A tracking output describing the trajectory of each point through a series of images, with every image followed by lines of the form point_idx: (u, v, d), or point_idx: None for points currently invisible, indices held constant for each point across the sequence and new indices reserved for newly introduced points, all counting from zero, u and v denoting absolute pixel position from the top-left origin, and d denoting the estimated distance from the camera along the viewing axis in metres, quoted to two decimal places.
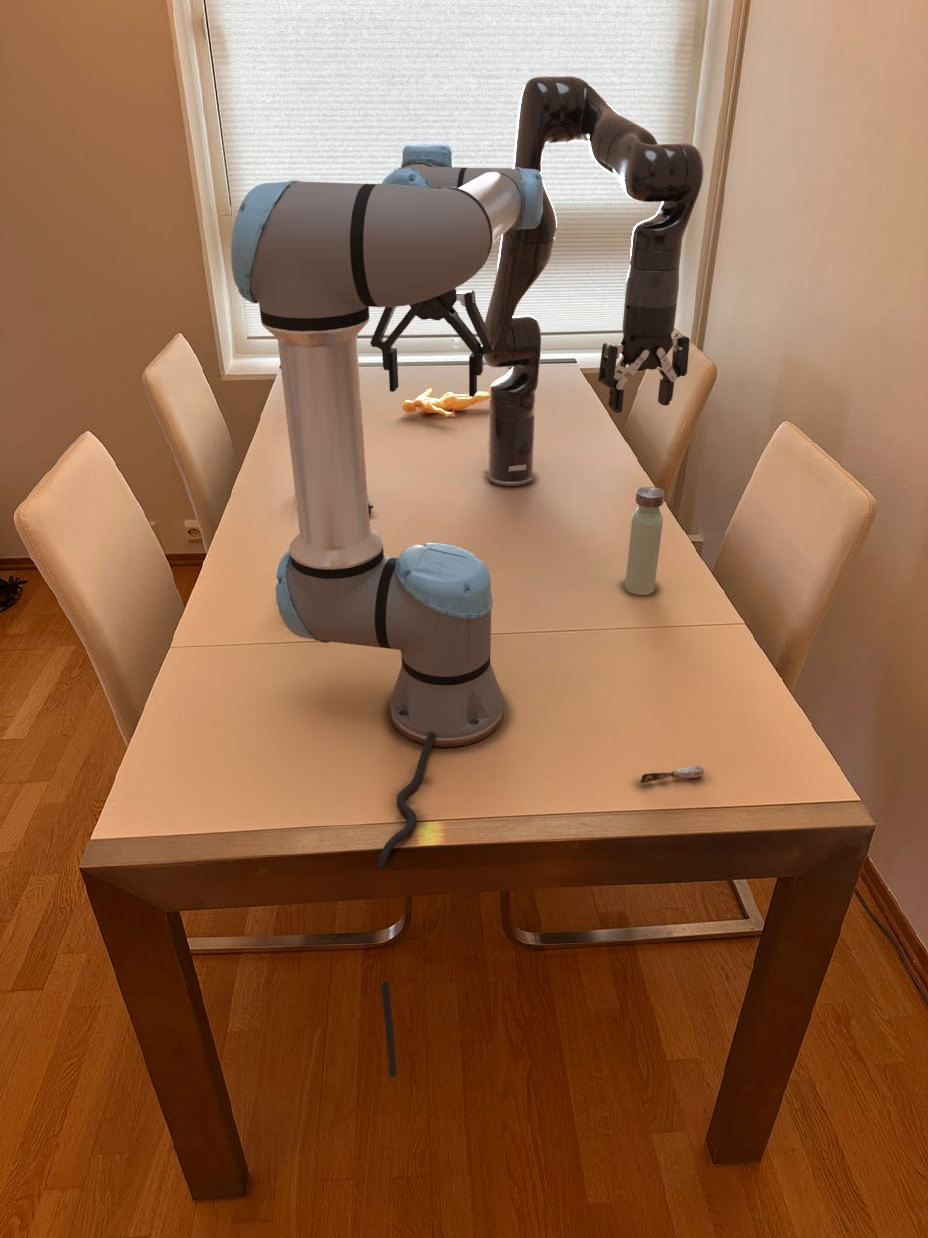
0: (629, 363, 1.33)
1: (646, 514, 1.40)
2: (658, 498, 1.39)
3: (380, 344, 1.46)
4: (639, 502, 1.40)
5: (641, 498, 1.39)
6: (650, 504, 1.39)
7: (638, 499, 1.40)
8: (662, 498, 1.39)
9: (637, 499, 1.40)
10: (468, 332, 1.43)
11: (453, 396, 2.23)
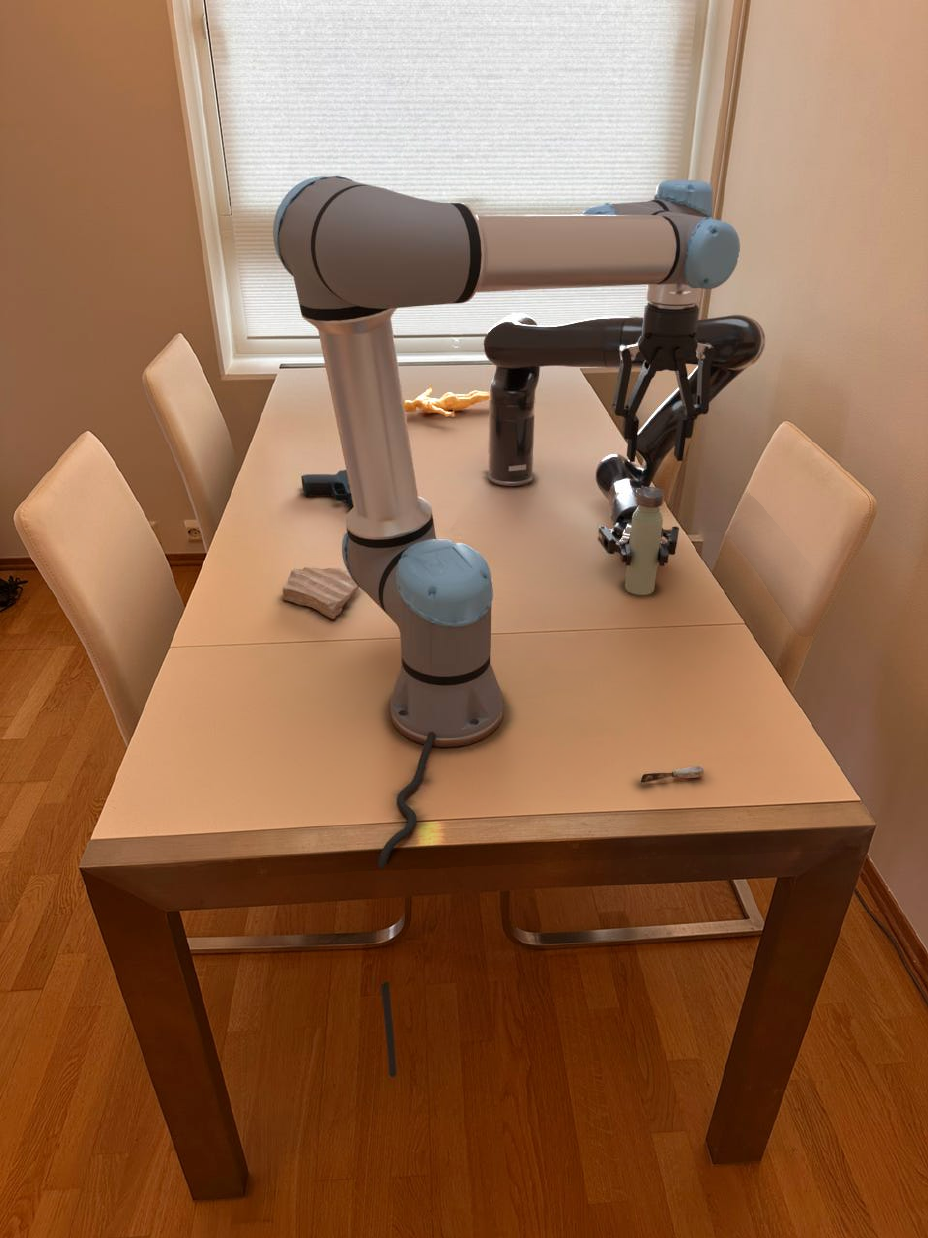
0: None
1: (646, 514, 1.40)
2: (658, 498, 1.39)
3: None
4: (639, 502, 1.40)
5: (641, 498, 1.39)
6: (650, 504, 1.39)
7: (638, 499, 1.40)
8: (662, 498, 1.39)
9: (637, 499, 1.40)
10: (634, 391, 1.32)
11: (453, 396, 2.23)
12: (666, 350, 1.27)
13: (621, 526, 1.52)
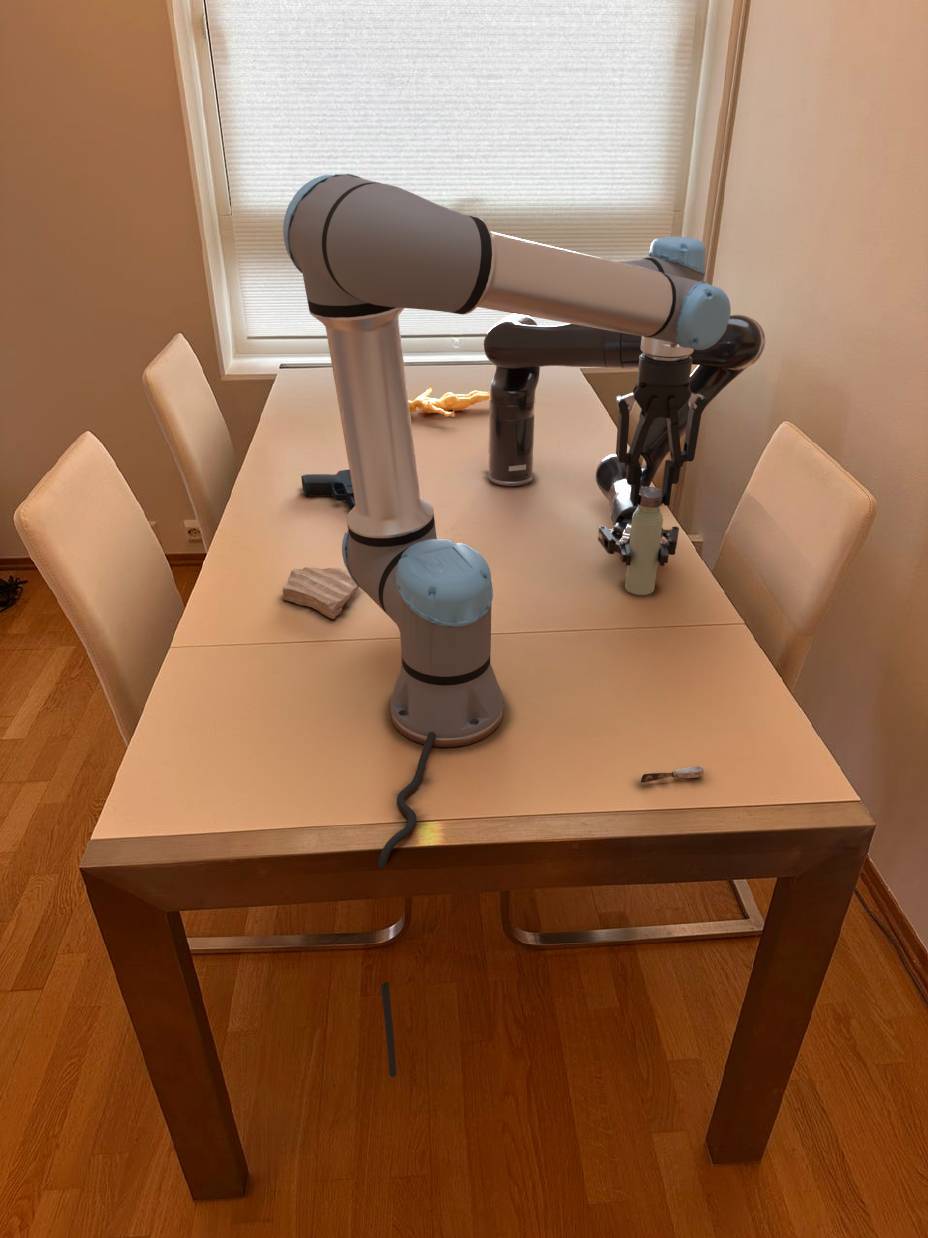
0: None
1: (646, 514, 1.40)
2: (658, 498, 1.39)
3: None
4: (639, 502, 1.40)
5: (641, 498, 1.39)
6: (650, 504, 1.39)
7: None
8: (662, 498, 1.39)
9: None
10: (634, 438, 1.36)
11: (453, 396, 2.23)
12: (661, 399, 1.31)
13: (621, 526, 1.52)
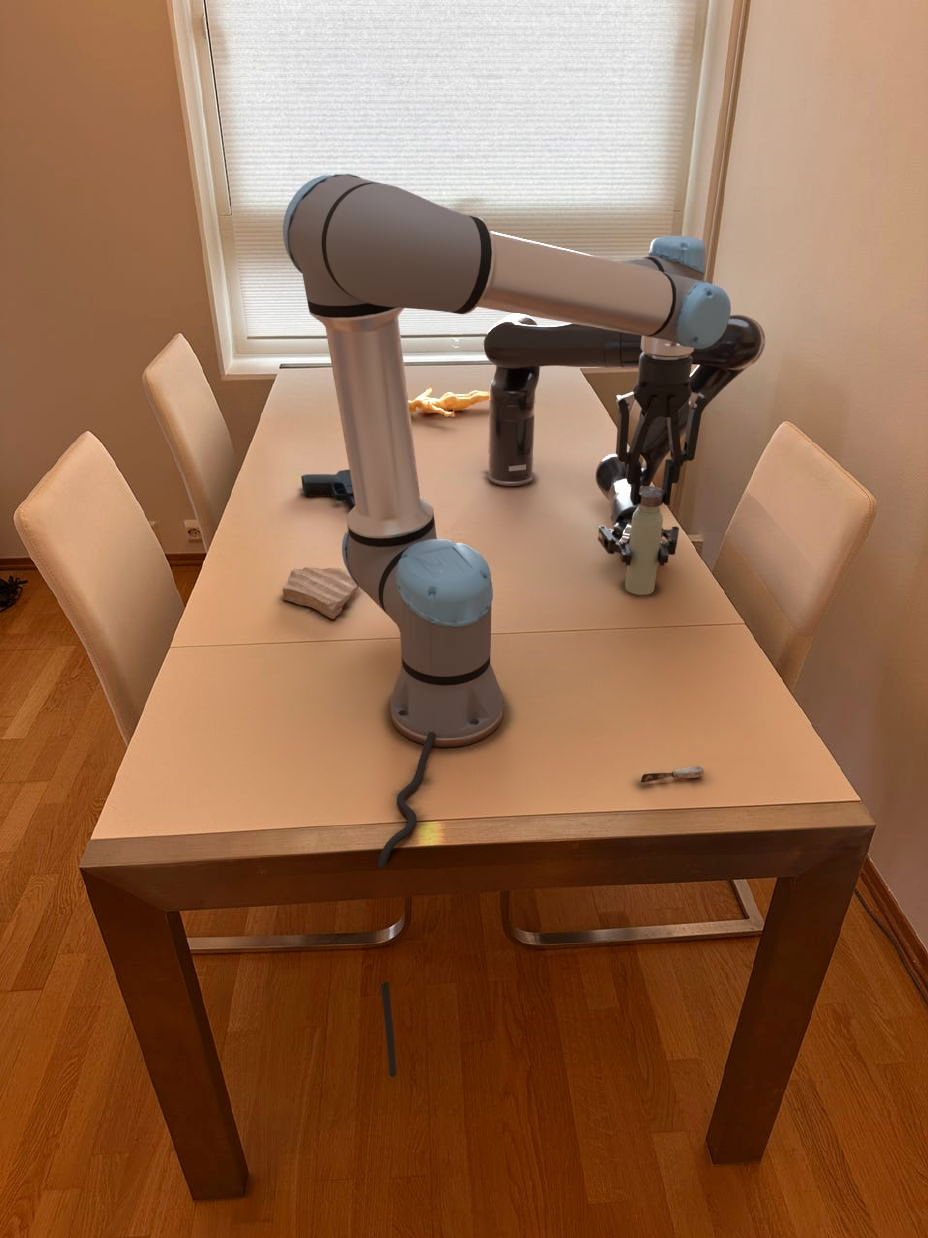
0: None
1: (646, 514, 1.40)
2: None
3: None
4: (660, 502, 1.39)
5: (662, 497, 1.39)
6: None
7: (659, 501, 1.39)
8: None
9: (658, 502, 1.39)
10: (634, 438, 1.36)
11: (453, 396, 2.23)
12: (661, 398, 1.31)
13: (621, 526, 1.52)
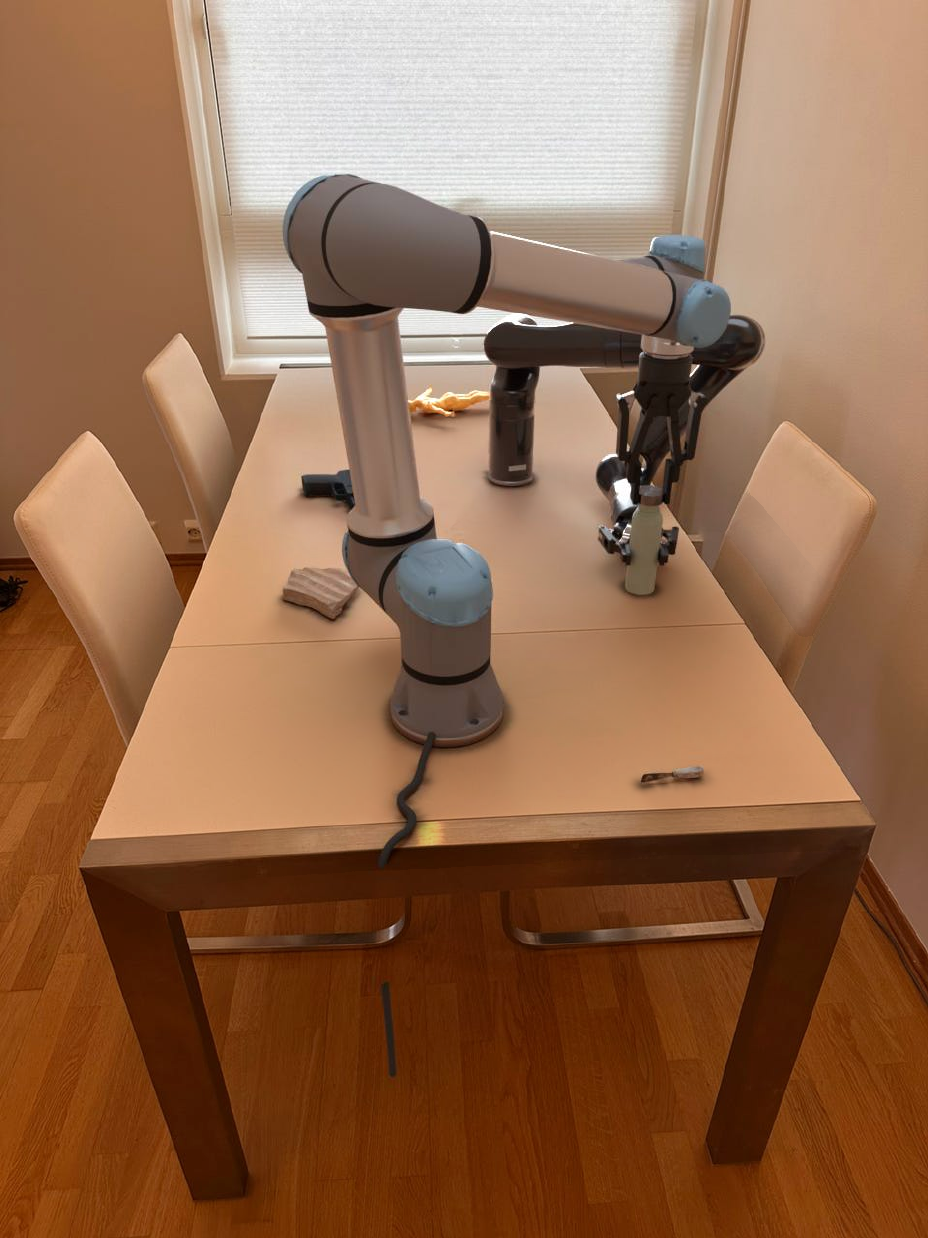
0: None
1: (646, 513, 1.40)
2: (640, 488, 1.41)
3: None
4: None
5: None
6: None
7: None
8: None
9: None
10: (634, 437, 1.35)
11: (453, 396, 2.23)
12: (661, 397, 1.31)
13: (621, 526, 1.52)
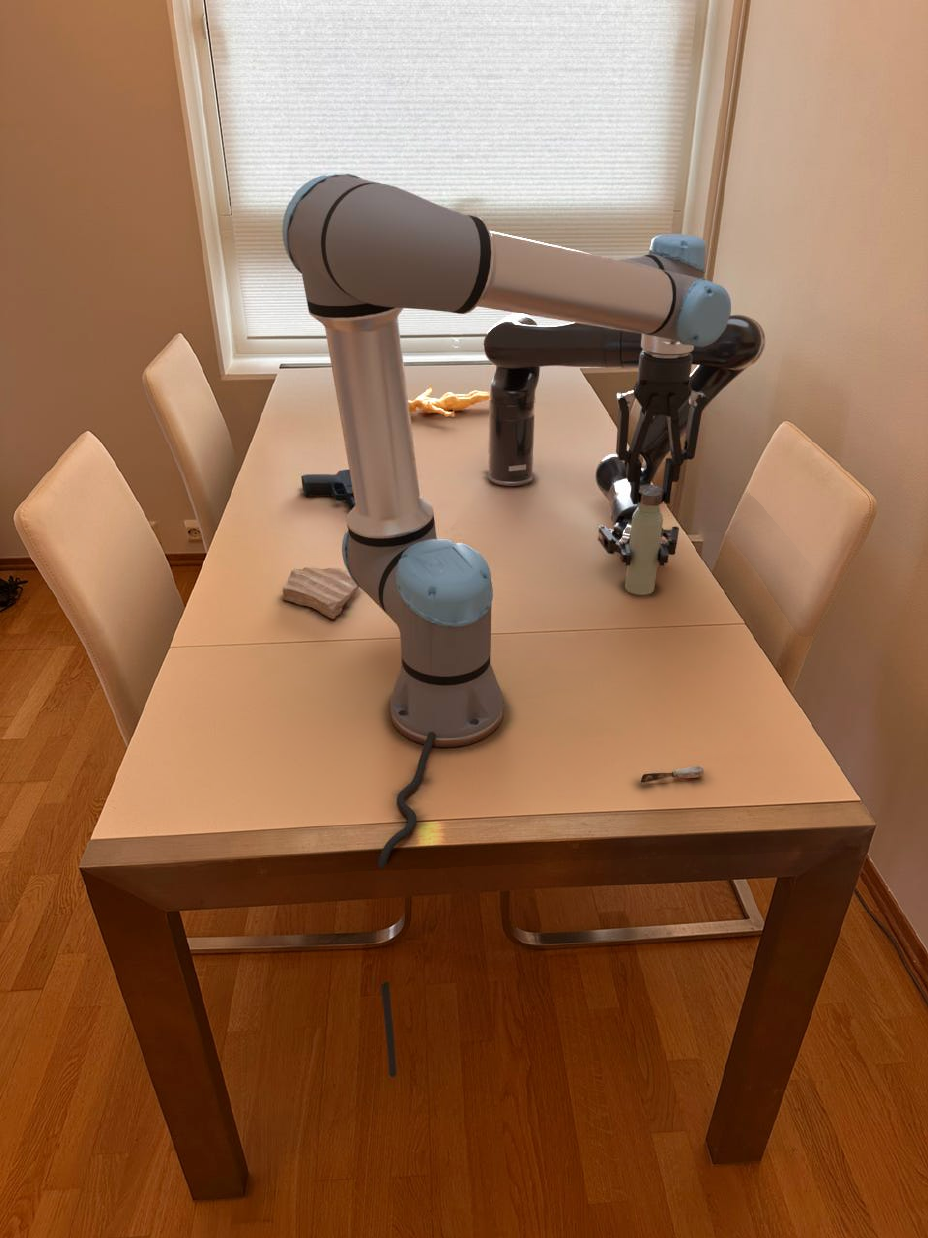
0: None
1: (646, 513, 1.40)
2: (644, 496, 1.39)
3: None
4: None
5: None
6: None
7: None
8: (650, 498, 1.38)
9: None
10: (634, 436, 1.35)
11: (453, 396, 2.23)
12: (661, 396, 1.31)
13: (621, 526, 1.52)
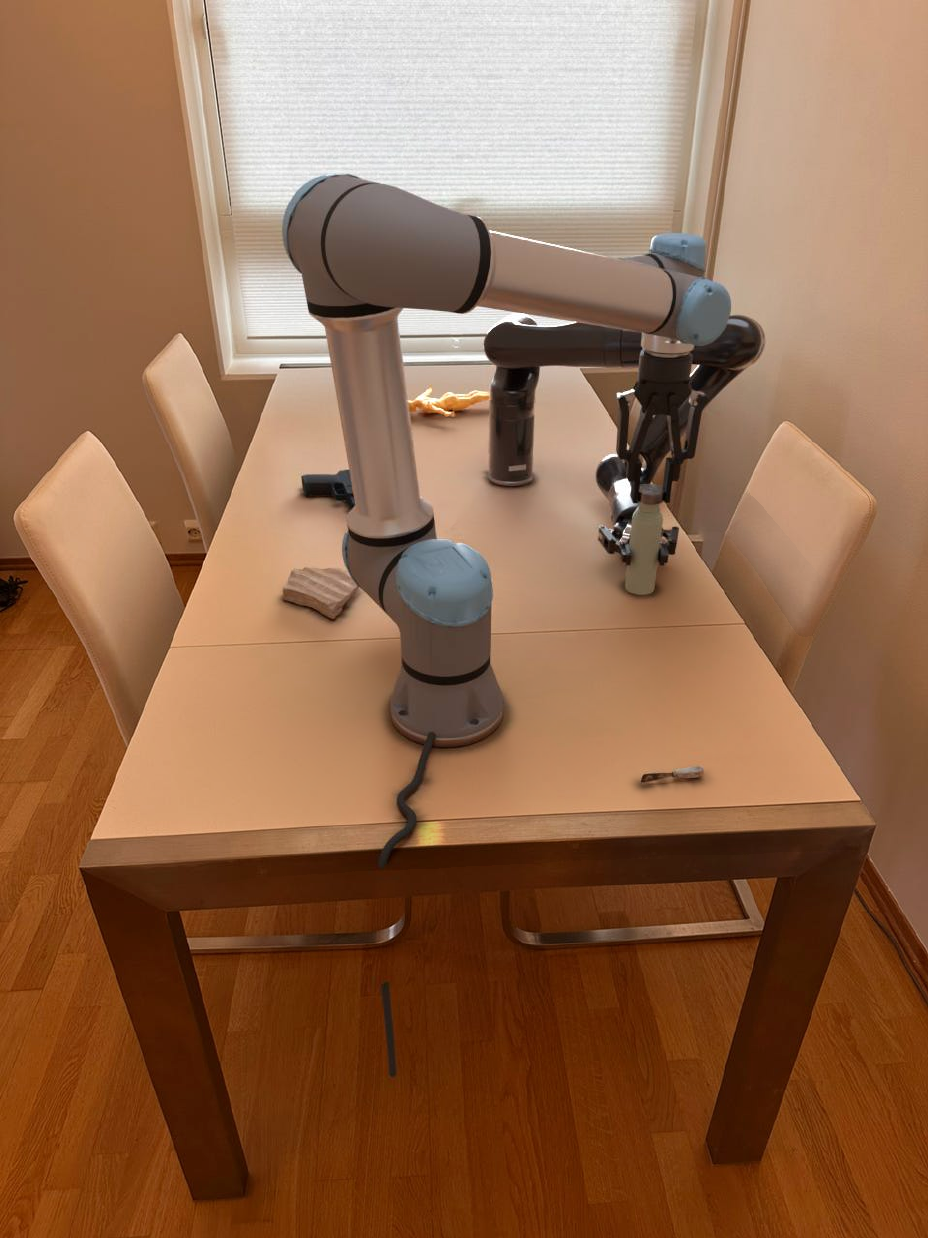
0: None
1: (646, 513, 1.40)
2: (663, 493, 1.39)
3: None
4: (647, 501, 1.39)
5: (649, 497, 1.38)
6: (658, 501, 1.39)
7: (645, 499, 1.39)
8: None
9: (643, 499, 1.39)
10: (635, 435, 1.35)
11: (453, 396, 2.23)
12: (661, 395, 1.31)
13: (621, 526, 1.52)
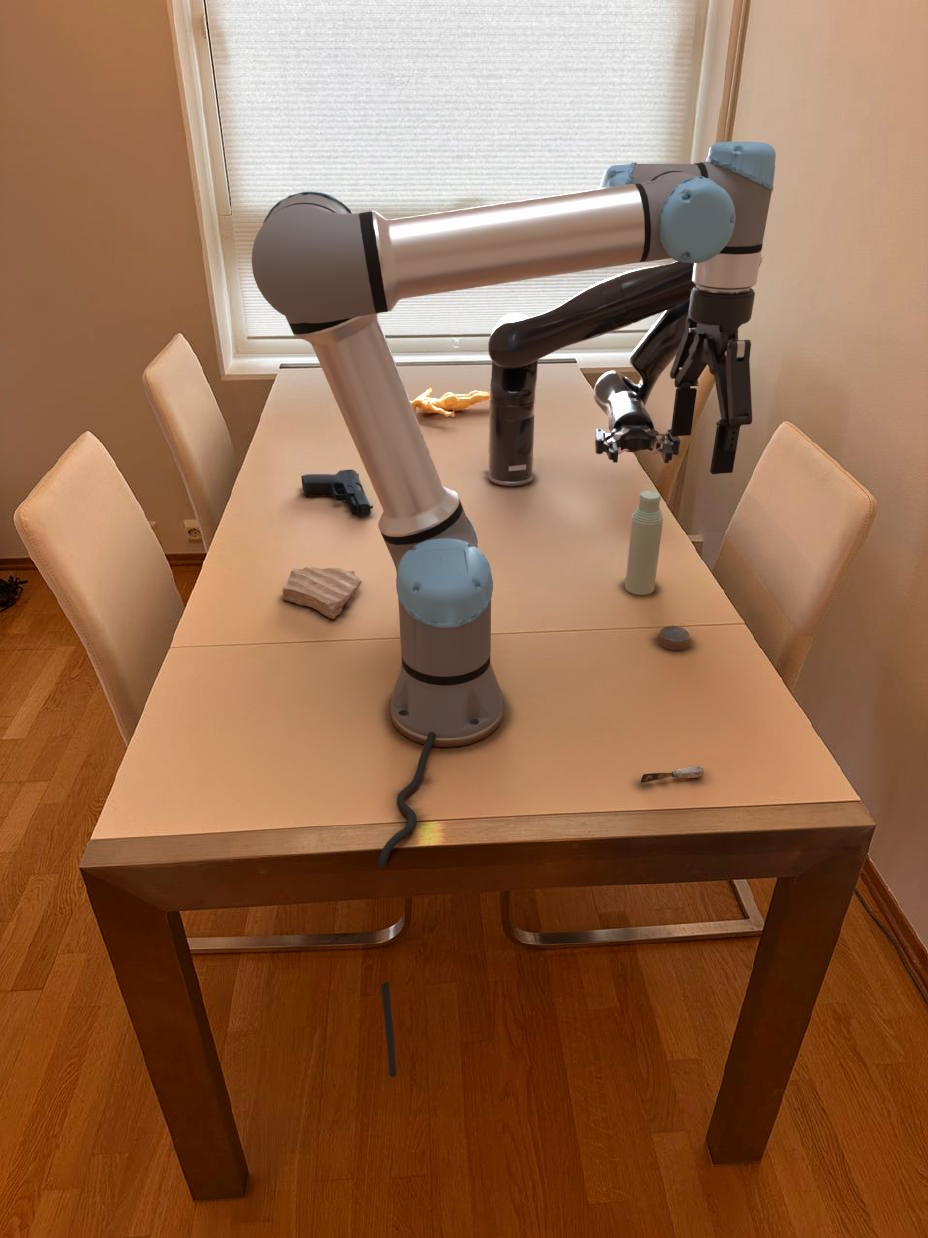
0: (652, 443, 1.55)
1: (646, 513, 1.40)
2: (676, 628, 1.36)
3: None
4: (688, 641, 1.35)
5: (688, 636, 1.34)
6: None
7: (688, 640, 1.34)
8: None
9: (687, 642, 1.34)
10: None
11: (453, 396, 2.23)
12: None
13: (619, 431, 1.56)
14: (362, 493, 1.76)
